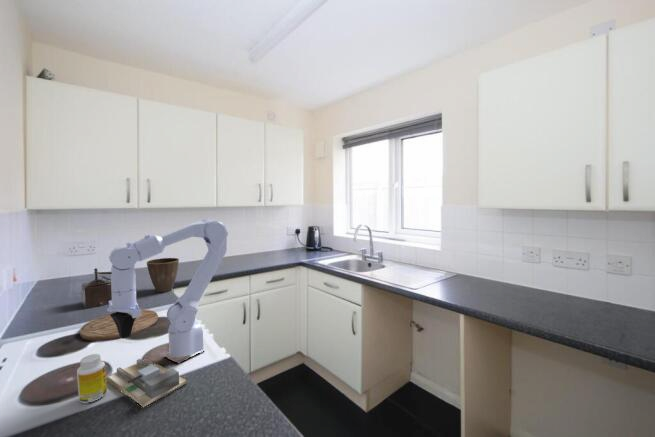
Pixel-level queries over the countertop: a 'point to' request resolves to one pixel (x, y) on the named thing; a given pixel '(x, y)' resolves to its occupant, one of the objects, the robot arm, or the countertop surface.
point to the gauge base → (150, 388)
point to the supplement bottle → (91, 378)
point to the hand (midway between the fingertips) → (125, 336)
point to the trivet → (114, 326)
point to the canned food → (105, 278)
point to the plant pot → (163, 273)
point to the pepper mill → (96, 291)
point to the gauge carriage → (146, 373)
